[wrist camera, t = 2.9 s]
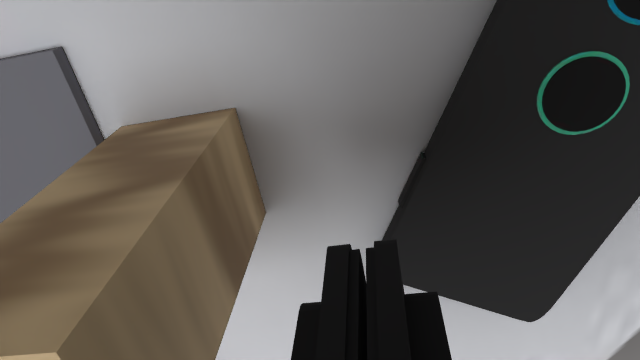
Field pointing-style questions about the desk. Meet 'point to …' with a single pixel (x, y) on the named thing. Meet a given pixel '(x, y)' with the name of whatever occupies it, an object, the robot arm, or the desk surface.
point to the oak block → (133, 247)
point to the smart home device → (527, 158)
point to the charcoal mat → (40, 125)
